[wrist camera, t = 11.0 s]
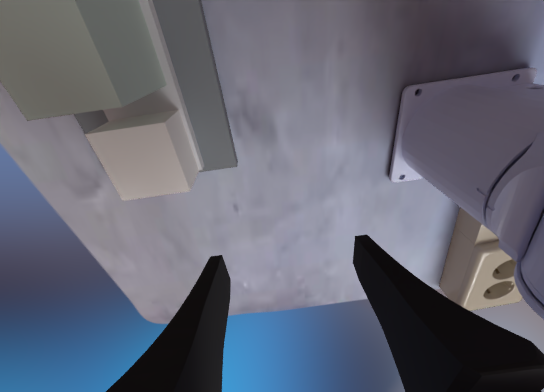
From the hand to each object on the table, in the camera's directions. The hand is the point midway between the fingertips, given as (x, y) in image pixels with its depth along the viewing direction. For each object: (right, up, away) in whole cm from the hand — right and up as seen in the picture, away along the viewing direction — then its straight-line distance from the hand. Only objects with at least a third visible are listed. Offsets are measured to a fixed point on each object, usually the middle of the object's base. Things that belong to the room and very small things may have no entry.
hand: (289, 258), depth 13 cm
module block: (-10, +12, +1) cm, 16 cm away
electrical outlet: (+23, 0, +14) cm, 26 cm away
